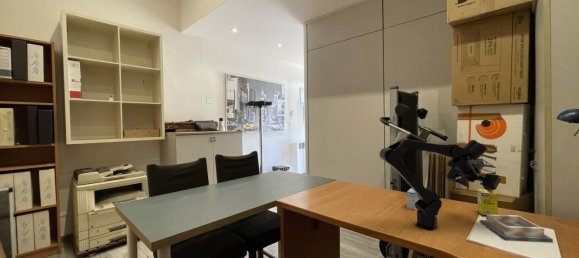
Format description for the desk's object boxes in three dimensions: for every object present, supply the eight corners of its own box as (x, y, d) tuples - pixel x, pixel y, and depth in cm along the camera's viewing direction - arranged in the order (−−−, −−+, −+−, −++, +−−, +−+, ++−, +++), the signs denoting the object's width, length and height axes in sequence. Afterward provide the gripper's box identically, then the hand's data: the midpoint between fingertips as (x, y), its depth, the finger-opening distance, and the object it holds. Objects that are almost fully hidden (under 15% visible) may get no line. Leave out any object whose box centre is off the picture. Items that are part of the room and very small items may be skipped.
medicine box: (410, 204, 128) (410, 188, 128) (419, 205, 125) (419, 189, 125) (406, 208, 122) (406, 191, 122) (416, 210, 119) (416, 193, 119)
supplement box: (498, 218, 107) (497, 193, 106) (481, 216, 109) (481, 192, 109) (493, 213, 112) (493, 190, 112) (477, 211, 115) (477, 188, 114)
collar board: (504, 240, 88) (504, 228, 88) (480, 222, 103) (479, 213, 103) (552, 242, 85) (552, 230, 85) (520, 224, 100) (520, 214, 100)
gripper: (498, 155, 94) (513, 179, 99) (450, 150, 111) (465, 171, 116) (486, 177, 92) (502, 201, 96) (439, 168, 109) (454, 189, 113)
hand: (479, 189), depth 106 cm, fingers open, 9 cm apart
